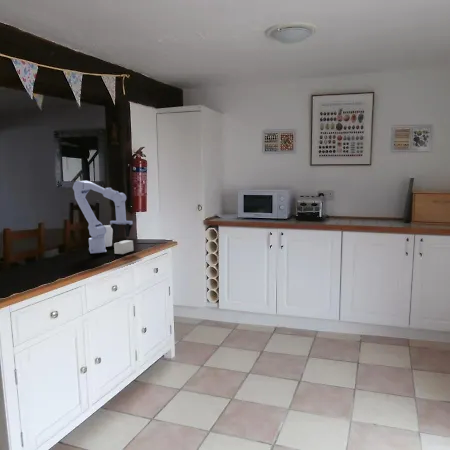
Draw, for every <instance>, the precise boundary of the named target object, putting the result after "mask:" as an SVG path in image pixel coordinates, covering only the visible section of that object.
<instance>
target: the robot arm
mask: <svg viewBox="0 0 450 450" xmlns="http://www.w3.org/2000/svg"><path fill="white" fill-rule="evenodd" d="M72 190H73V192H74V193H73V194H74V200H75V201H76V202H77V205H78V207H79V209H80V210H81V212H82V214H83V216H84V218H85V219H86V221H87V223H88V226H87V229H88V232H89V236H91V237H89V238H88V246H89V247H88V251H89V253H90V254H100V253H107V251H108V250H107V249H106V247H105V234H106V228H105V226H104V225H103V223H102V222H101V221H99V220H98V219H97V217H96V214H95V212H94V211H93V210H92V208H91V206H90V203H89V202H88V200H87V198H86V197H87V195H88V193H89V192H90V190H92V191H94V192H97V193H100V194H102V196H103V197H104V198H106V199H109V200H111V201H113V203H114V206H115V209H114V210H115V220H110V221H109V225H111V227H112V229H113V233H114V236H115V238H116V237H119V234H120V233H119V227H120V225H123V227H124V230H125V236H126V238H128V237H130V234H131V230H132V227H133V224H134V223H133V220H127V212H126V200H127V195H126V194H125V193H124V192H119V191H118V190H115V189H113V188H112V187H105V188H104V187H102V186H101V185H99V184H96V183H95V182H92V181H90V180H76V181H74V182H73V186H72Z"/></svg>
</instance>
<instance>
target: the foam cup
mask: <svg viewBox="0 0 450 450" xmlns="http://www.w3.org/2000/svg"><path fill="white" fill-rule="evenodd" d="M111 225H112V224H108V225H107V224H106V225H105V224H104V225H103V226H105V228H106V234H105V248H106V247H112V246H113V233H114V231H113V229H112V227H111Z"/></svg>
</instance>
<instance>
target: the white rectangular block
mask: <svg viewBox="0 0 450 450" xmlns="http://www.w3.org/2000/svg"><path fill="white" fill-rule="evenodd" d="M113 248H114V249H113V250H114V254H116V255H124V254H127V253H130V252H134V240H129V239H126V240H120V241H119V242H115V243H113Z"/></svg>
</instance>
